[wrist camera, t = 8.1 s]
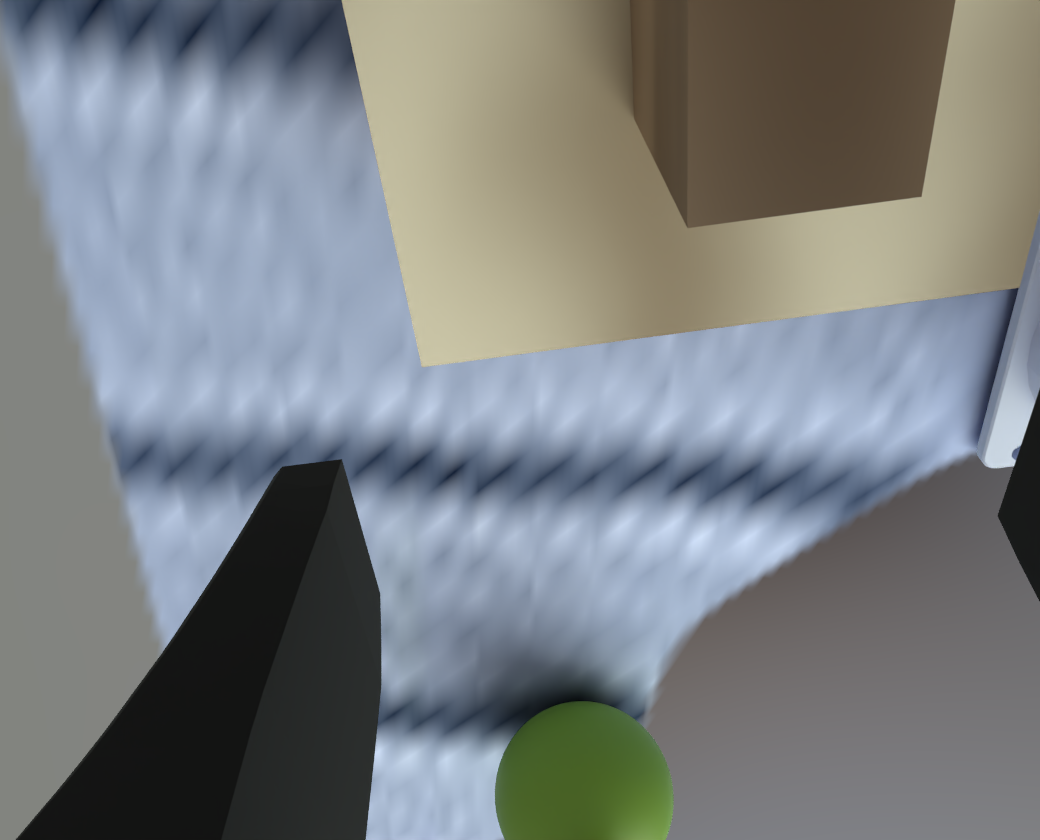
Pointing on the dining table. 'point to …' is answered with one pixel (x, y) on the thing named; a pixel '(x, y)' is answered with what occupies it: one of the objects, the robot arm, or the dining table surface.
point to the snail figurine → (583, 778)
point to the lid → (694, 160)
